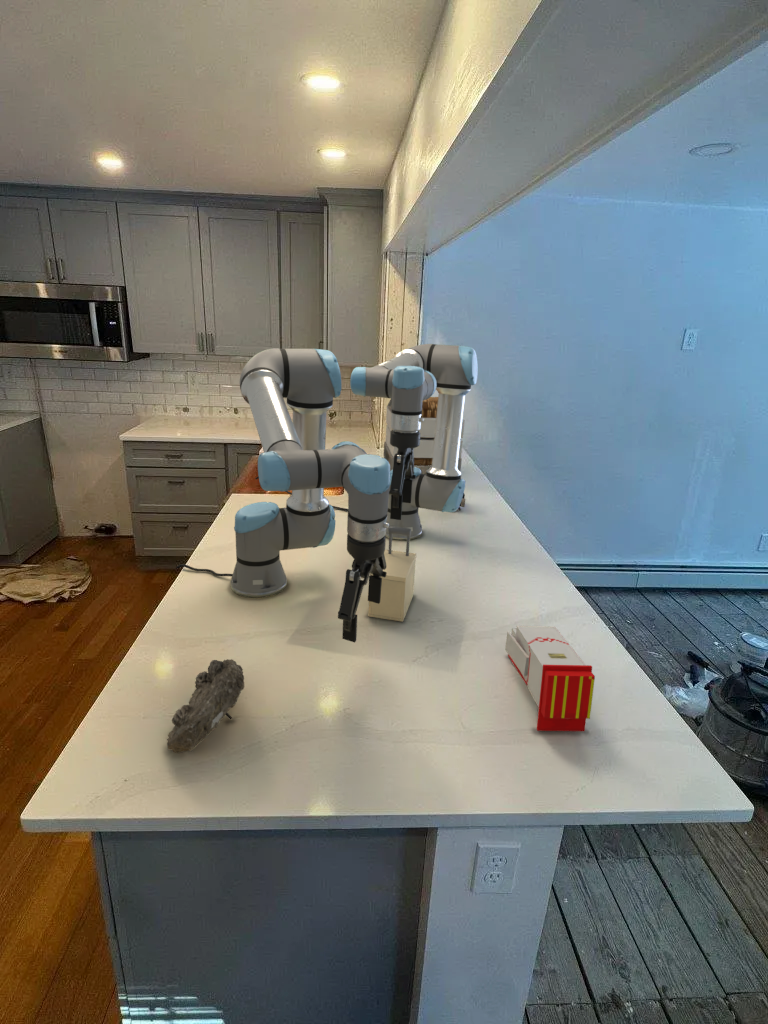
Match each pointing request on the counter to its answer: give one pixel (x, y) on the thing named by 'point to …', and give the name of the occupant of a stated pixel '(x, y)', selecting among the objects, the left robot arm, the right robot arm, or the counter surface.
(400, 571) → the lid
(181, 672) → the counter surface
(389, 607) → the chest
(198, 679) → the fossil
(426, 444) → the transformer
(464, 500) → the figurine character
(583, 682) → the toy
